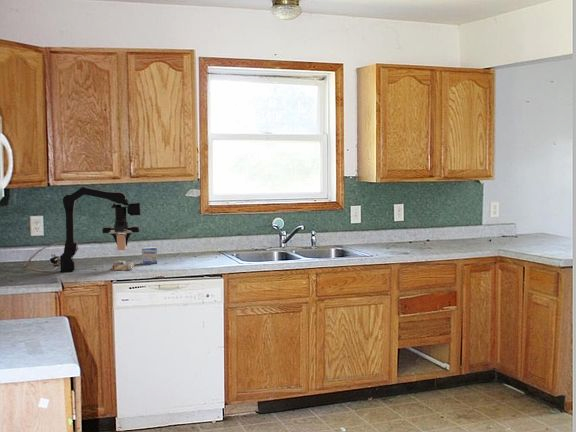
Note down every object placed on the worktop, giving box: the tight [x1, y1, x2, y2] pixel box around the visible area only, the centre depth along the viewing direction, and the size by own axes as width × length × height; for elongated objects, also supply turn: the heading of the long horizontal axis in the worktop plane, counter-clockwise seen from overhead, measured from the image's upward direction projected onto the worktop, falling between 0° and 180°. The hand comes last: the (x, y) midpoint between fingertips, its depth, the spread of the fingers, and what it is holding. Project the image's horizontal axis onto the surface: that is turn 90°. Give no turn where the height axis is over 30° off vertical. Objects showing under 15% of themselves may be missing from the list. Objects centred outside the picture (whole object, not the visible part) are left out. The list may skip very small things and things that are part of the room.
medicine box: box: [141, 246, 158, 265], centre depth 375 cm, size 8×4×9 cm, turn 106°
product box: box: [116, 232, 128, 251], centre depth 358 cm, size 7×4×8 cm, turn 5°
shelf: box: [111, 261, 135, 272], centre depth 360 cm, size 10×11×3 cm
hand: (122, 245), depth 358 cm, fingers closed on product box, 4 cm apart
